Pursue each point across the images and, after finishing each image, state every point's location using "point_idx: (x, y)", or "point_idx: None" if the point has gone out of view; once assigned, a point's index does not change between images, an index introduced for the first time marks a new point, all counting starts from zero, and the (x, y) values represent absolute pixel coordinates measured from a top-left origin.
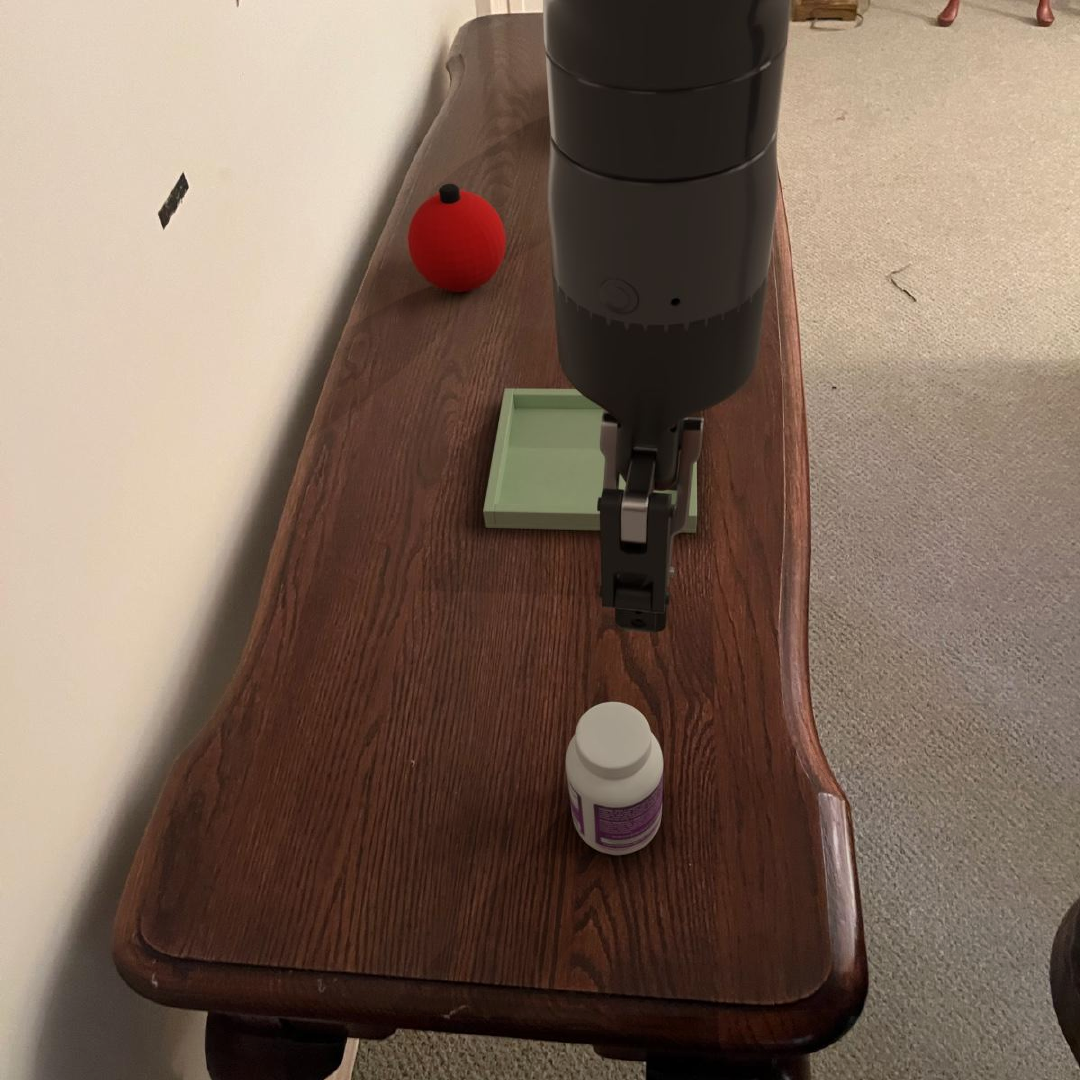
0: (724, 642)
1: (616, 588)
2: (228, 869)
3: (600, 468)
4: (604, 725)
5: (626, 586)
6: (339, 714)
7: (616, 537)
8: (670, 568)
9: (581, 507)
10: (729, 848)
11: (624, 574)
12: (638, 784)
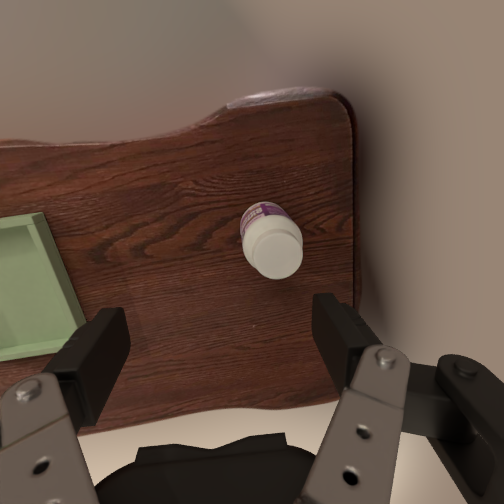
0: (132, 180)
1: (473, 441)
2: (316, 376)
3: (10, 286)
4: (273, 263)
5: (473, 432)
6: (235, 364)
7: None
8: (389, 364)
9: (57, 293)
10: (272, 160)
11: (441, 433)
12: (293, 229)
